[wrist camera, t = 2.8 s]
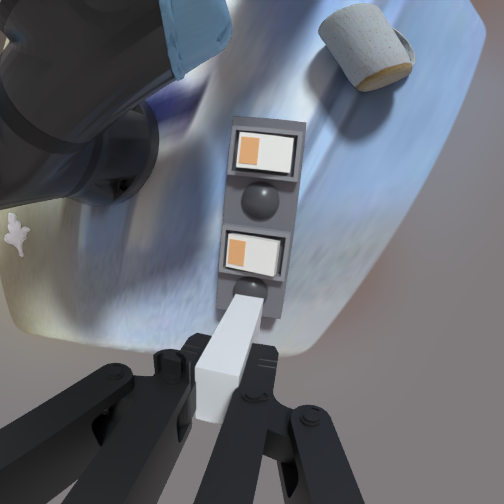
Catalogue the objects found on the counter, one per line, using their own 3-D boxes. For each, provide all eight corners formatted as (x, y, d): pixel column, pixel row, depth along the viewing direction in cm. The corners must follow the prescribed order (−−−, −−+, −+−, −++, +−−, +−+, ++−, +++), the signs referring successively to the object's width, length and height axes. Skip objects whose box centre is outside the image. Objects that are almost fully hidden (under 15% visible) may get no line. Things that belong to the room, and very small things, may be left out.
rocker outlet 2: (229, 263, 29) (225, 266, 28) (232, 232, 28) (228, 234, 27) (276, 273, 28) (273, 276, 27) (280, 240, 27) (277, 243, 26)
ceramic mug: (351, 102, 26) (368, 79, 19) (314, 44, 25) (319, 10, 18) (423, 76, 24) (452, 55, 17) (387, 22, 23) (406, -9, 15)
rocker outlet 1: (236, 167, 26) (236, 166, 25) (240, 133, 25) (239, 131, 24) (288, 172, 26) (290, 172, 25) (291, 139, 25) (293, 138, 24)
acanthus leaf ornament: (8, 239, 40) (1, 241, 38) (13, 207, 38) (6, 209, 36) (26, 260, 40) (19, 263, 38) (32, 228, 38) (24, 230, 36)
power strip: (224, 296, 34) (213, 312, 30) (240, 122, 29) (230, 113, 25) (282, 305, 33) (279, 323, 29) (305, 129, 28) (306, 120, 24)
